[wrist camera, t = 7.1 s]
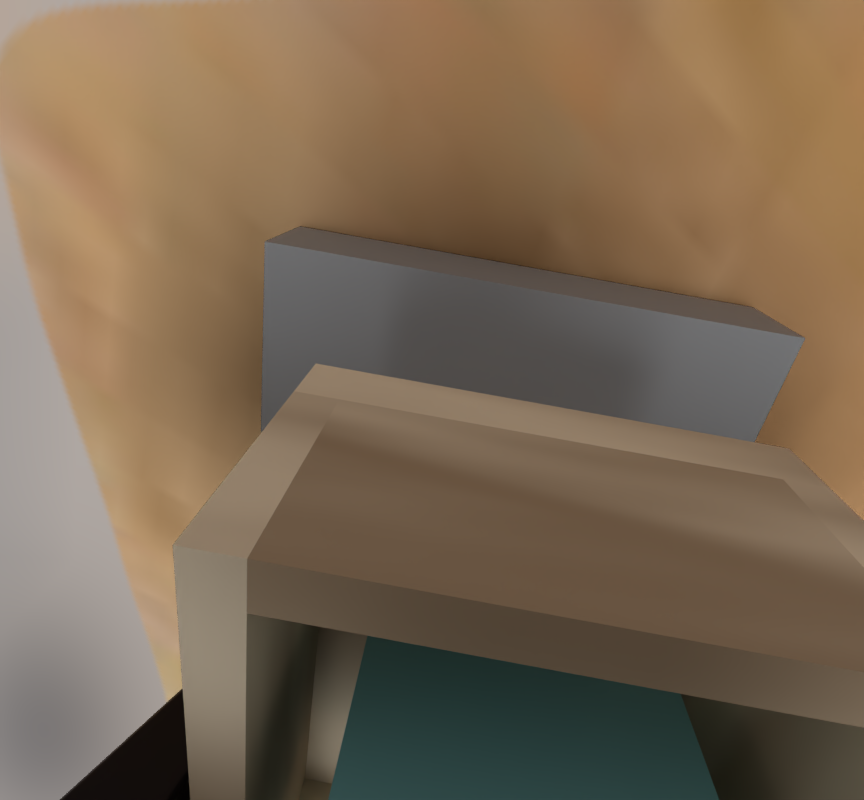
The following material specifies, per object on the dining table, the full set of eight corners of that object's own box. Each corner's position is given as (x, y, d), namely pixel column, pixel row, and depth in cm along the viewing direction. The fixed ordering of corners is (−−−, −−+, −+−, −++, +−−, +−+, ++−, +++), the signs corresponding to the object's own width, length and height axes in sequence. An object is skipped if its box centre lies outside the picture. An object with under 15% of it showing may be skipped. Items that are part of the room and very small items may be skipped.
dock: (630, 589, 18) (651, 651, 16) (285, 525, 18) (257, 578, 16) (753, 307, 14) (805, 338, 12) (300, 226, 14) (264, 241, 12)
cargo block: (578, 768, 10) (625, 1068, 6) (361, 729, 10) (302, 1006, 7) (649, 608, 8) (759, 909, 5) (385, 562, 8) (320, 829, 5)
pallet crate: (606, 801, 12) (662, 1093, 8) (290, 740, 12) (204, 1004, 8) (789, 448, 8) (1056, 708, 4) (316, 363, 8) (173, 545, 4)
